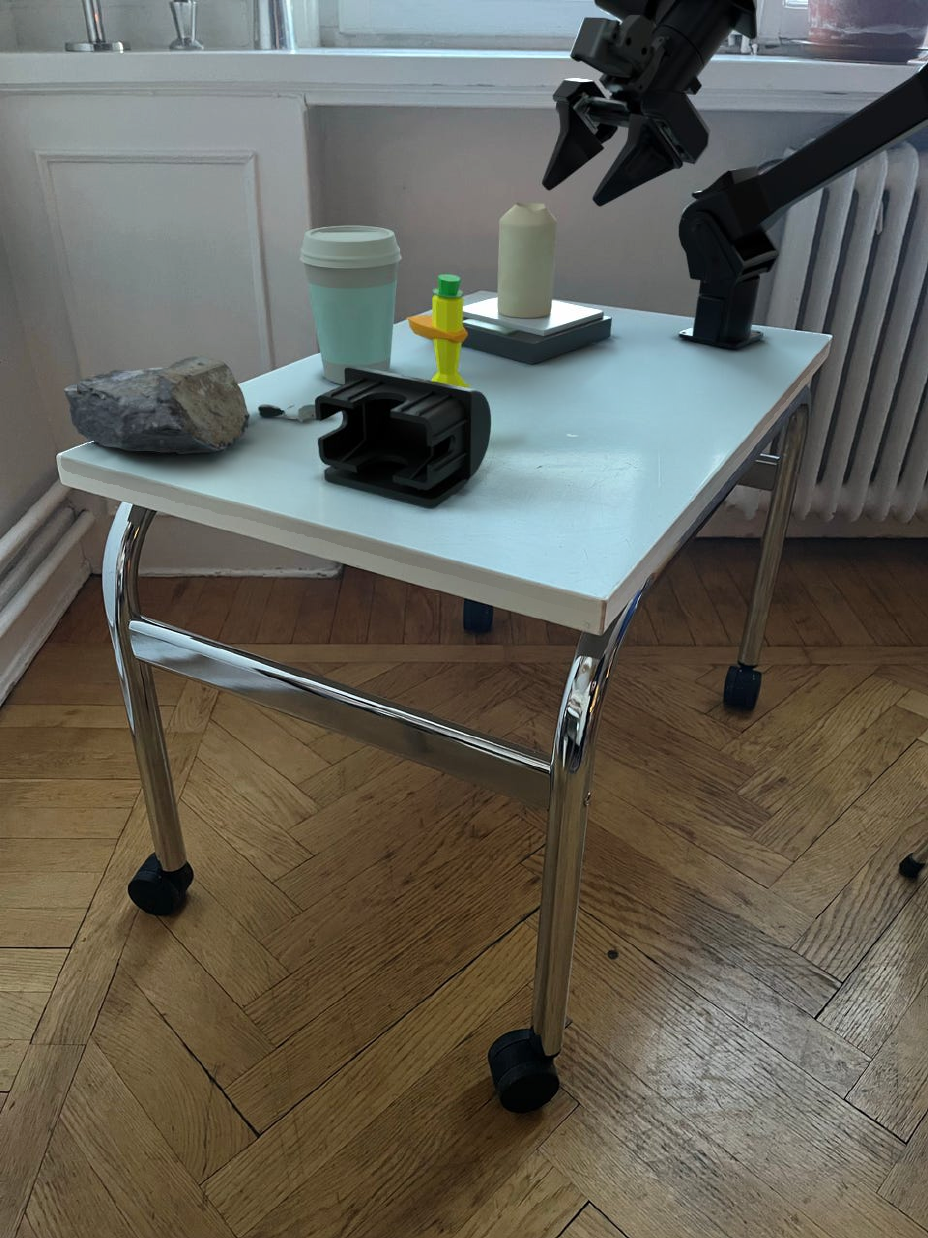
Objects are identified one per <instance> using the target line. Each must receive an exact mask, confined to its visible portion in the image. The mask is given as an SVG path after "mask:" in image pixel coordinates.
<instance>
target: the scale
mask: <svg viewBox="0 0 928 1238" xmlns="http://www.w3.org/2000/svg"><path fill="white" fill-rule="evenodd" d="M612 322H613V317H612V316H611V317H610V316H607V315H605V311H604V310H601V309H596V308H590V307H586V306H581V305H576V304H573V303H572V304H571V303H568V302H562V301H558V300H553V299H552V310H551V313H550V314H549V315H546V316H543V317H536V318H517V317H510V316H506V315H502V314H500V313H499V312H498V310H497V297H494V298H489V299H485V300H482V301H478V302H474V303H471V304H466V305H463V326H464V328H465V330H466V331H467V333H468V336H467V337H466V339H465V340H464V341H463V342H462V344H461V347H465V348H468V349H472V350H476V351H480V352H483V353H488V354H491V355H495V356H499V357H502V358H506V359H511V360H514V361H516V362H517V361H518V362H521V363H526V364H527V365H536V364H538V363H540V362H541V363H542V362H543V361H546V360H549V359H552V358H554V357H558V356H560V355H563V354H567V353H569V352H572V351H575V350H577V349H580V348H583V347H586V346H589V345H591V344H595V343H598V342H600V341H603V340H606V339H609V338H611V332H612V331H611V330H612Z"/></svg>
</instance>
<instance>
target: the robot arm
mask: <svg viewBox="0 0 928 1238" xmlns="http://www.w3.org/2000/svg"><path fill="white" fill-rule="evenodd" d="M593 2H594V5H595V6H596V8H597V9H599V10H600V11H602V12H604V13H606V14H607V15H610V16H611V17H612V18H615V19H610V18H607V17H594V16H593V17H591V16H590V17H589V16H585V17H583V18H582V22H581V24H580V26H579V29H578V32H577V35H576V38H575V39H574V43H573V46H572V48H571V51H570V54H569V58H571V60H573V61H575V62H576V63H577V62H578V63H579V62H582V63H584V64H585V65H587V66H589V67H591V68H592V69H594V70H595V71H598V72H600V73H602V74H601V76H600V78H599V79H598V81H599V82H600V84H601V85H602V86H603V88H604V89H605V90H608V92H609V93H610V95H608V96H609V97H606V96H605V94H604V92H603V91H602V90H601V89H600V87H599V86H598V84H597V83H596V82H595V80H590V79H584V78H583V79H582V78H577V77H576V78H565V79H563V80H562V81H561V83H560V84H559V85H558V87H557V88H556V90H554V92H553V93H552V100H553V101H554V102H555V106H554V109H555V111H556V113H557V114H558V118H559V119H558V120H559V131H558V136H557V138H556V142H555V145H554V147H553V150H552V152H551V155H550V158H549V161H548V164H547V167H546V169H545V171H544V174H543V178H542V179H541V186H543V188H545V190H546V191H548V192H549V191H552V190H553V189H555V188H556V187H557V186H559V185H561V184H562V183H563V182H564V181H566V180H567V179H569V177H571V176H572V175H573V174H574V173H576V172H578V170H579V169H581V168H582V167H583V166H584V165H586V164H587V163H588V162H590V161H591V160H592V159H594V158H595V157H596V156H598V155H599V154H600V153H601V152H602V151H603V150H604V149H605V147H604V145H603V144H604V143H606V142H608V141H609V140H611V139H612V138H613V137H614V135H615V134H616V133H617V131H618V130H619V127H620V128H627V129H628V130H627V139H626V142H625V144H624V145H623V147H622V148H621V150H620V151H619V153H618V155H617V156H616V158H615V159H614V161H613V162H612V164H611V166H610V167H609V169H608V170H607V172H606V174H605V175H604V176H603V177H602V180H601V181H600V183H599V184H598V187H597V188H596V190H595V191H594V194H593V195H592V198H591V199H592V202H593V203H594V204H595V205H596V206H597V207H600V208H602V207H603V206H605V205H607V204H609V203H610V202H612V201H614V200H616V199H618V198H619V197H622V196H623V195H625V194H627V193H629V192H630V191H633V190H634V189H636V188H638V187H641V186H643V185H644V184H647V183H648V182H650V181H652V180H654V179H656V178H659V177H660V176H662V175H665V174H667V173H669V172H671V171H673V170H680V169H681V168H683V166H684V163H687V164H691V165H696V163H697V162H698V161H699V159H700V158H701V157H702V156H703V154H704V153H705V152H706V151H707V149H708V148H709V144H710V135H711V129H710V127H709V126H708V125H707V123H706V122H705V120H704V119H703V117H702V116H701V114H700V112H699V111H698V109H697V108H696V107H695V105H694V104H693V101H692V100H691V98H690V97H689V96H688V95H691V96H696V95H697V94H698V92H699V91H700V90H701V88H702V87H703V84H702V83H701V81H700V79H699V78H698V77H699V76H700V74H701V73H702V71H703V70H704V69H705V68H706V66H707V65H708V63H709V62H710V61H711V60H712V58H713V57H714V56H715V55H716V53H717V52H718V50H719V49H720V48H721V46H722V45H723V44H724V43H725V41H726V40H727V39H728V37H729V36H730V35H731V34H732V32H733V31H734V32H736V33H738V34H740V35H741V36H744V37H745V38H747V39H749V40H755V39H756V38H757V36H758V20H757V9H758V0H593ZM926 126H928V60H926V62H924V63H923V64H922V66H921V67H920V68H919V69H918V70H917V71H916V72H915V73H914V74H913V75H911V76H910V77H909V78H907V79H906V80H904V81H902V83H900V84H898V85H896V86H895V87H893V88H892V89H891V90H889V91H887V92H886V93H884V94H882V95H881V96H880V97H878V98H876V99H875V100H874V101H872V102H870V103H869V104H867V105H866V106H864V107H863V108H861V109H860V110H858V111H856V112H855V113H853V114H852V115H850V116H849V117H848V118H845V119H844V120H843V121H841V122H839V123H838V124H837V125H835V126H832V128H830V129H829V130H827V131H826V132H824V133H822V134H821V135H820V136H818V137H816V138H815V139H813V140H811V141H810V142H808V143H807V144H805V145H804V146H802V147H801V148H799V149H798V150H796V151H795V152H793V153H792V154H790V155H789V156H787V157H785V158H784V159H782V160H781V161H779V162H778V163H776V164H775V165H773V166H772V167H770V168H768V169H767V170H765V171H764V172H762V173H759V172H758V166H757V165H755V164H754V165H749V166H744V167H738V168H734V169H729V170H727V171H726V172H724V173H723V174H721V175H720V176H719V177H718V178H717V179H716V180H715V181H713V183H712V184H710V185H709V186H708V187H707V188H705V189H702V190H699V191H694V192H692V193H691V197H692V198H694V199H695V200H693V201H691V202H690V203H689V204H688V205H686V206H685V208H683V211H682V212H681V213H680V220H679V224H678V239H679V242H680V246H681V247H682V250H683V251H684V253H685V256H686V262H687V268H688V275H689V278H690V279H691V280H694V281H699V288H698V294H697V299H696V307H695V313H694V321H693V326H692V327H690V328H687V329H684V330H682V331H679V333H678V338H679V339H684V340H689V341H693V342H698V343H701V344H702V343H703V344H706V345H711V346H717V347H721V348H726V349H730V350H737V349H739V348H742V347H744V346H746V345H748V344H751V343H753V342H755V341H758V340H760V339H763V337H764V334H765V333H764V332H763V331H760V330H755V329H752V326H753V322H754V316H755V311H756V304H757V299H758V292H759V288H760V282H761V275H762V274H765V273H766V274H768V273H770V272H771V271H772V269H773V268H774V265H775V264H776V262H777V260H778V258H779V256H780V250H779V249H778V247H777V245H776V244H775V243H774V241H773V239H772V238H771V236H770V234H769V233H768V231H769V230H770V229H772V228H773V227H774V225H776V224H777V222H778V221H780V219H781V218H782V217H783V216H784V215H785V214H786V213H787V211H788V210H790V209H791V208H792V207H794V205H796V204H798V203H800V202H802V201H803V200H804V199H807V198H808V197H810V196H812V195H813V194H815V193H816V192H818V191H820V190H821V189H823V188H825V187H827V186H828V185H830V184H832V183H833V182H835V181H836V180H838V179H840V178H841V177H844V176H845V175H846V174H848V173H849V172H851V171H853V170H855V169H856V168H858V167H860V166H861V165H863V164H865V163H867V162H868V161H870V160H871V159H873V158H875V157H877V156H878V155H879V154H881V153H883V152H885V151H886V150H889V149H890V148H891V147H893V146H895V145H897V144H898V143H900V142H901V141H903V140H905V139H906V138H908V137H910V136H911V135H913V134H915V133H917V132H919V131H920V130H921V129H923V128H925V127H926Z"/></svg>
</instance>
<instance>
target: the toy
mask: <svg viewBox="0 0 928 1238" xmlns="http://www.w3.org/2000/svg"><path fill="white" fill-rule="evenodd" d="M294 406H295V404H293V405H290V406H289V407H287V408H286V409H285V410H284V409H282V408H281V407H279V406H276V405H272V404H268V403H267V404H265V403H264V404H263V403H261V404H259V405H258V406H257V410H258V415H259V416H260V417H264V418H271V417H279V416H282V417H283V418H286V419H290V420H299V422H300V423H304V420H305V419H308V418H316V413H315V403H314V404H312V403H311V404H310V403H309V404H304V405H302V406H301V407H299V408H298V409H297V417H293V416H289V415H287V412H286V411H288V410H289V409H291V408H293V407H294Z"/></svg>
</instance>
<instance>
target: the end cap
mask: <svg viewBox="0 0 928 1238" xmlns="http://www.w3.org/2000/svg"><path fill="white" fill-rule="evenodd" d="M344 373H345V384H340V385H338V386H337V387H334V388H333V389H331V390H328V391H326V392H324V393H322V394H320V395H318V396H316V398H315V399H314V405H315V413H316V417H315V420H316V421H318V422H323V421H325V420H326V419H328V418H331V417H333V416H334V415H337V414H338V413H341V414H342V421H341V423H340V425H339V427H337V428H335V429H333V430H331V431H330V432H328V433H325V434H323V435H322V436H320V437H318V438H317V447H318V457H319V459H320V461H321V462H322V463H323V464H324V465H326V466H329V467H327V468H325V469H324V470H323V476H324V481H326V482H329V483H333V484H337V485H339V486H344V487H347V488H352V489H355V490H359V491H362V492H367V493H370V494H374V495H378V496H382V497H386V498H389V499H393V500H397V501H400V502H404V503H409V504H411V505H415V506H419V507H424V508H429V509H433V508H436V507H438V506H440V505H441V504H442V503H444V502H445V501H447V500H448V499H450V498H451V497H452V496H454V495H455V494H456V493H458V492H460V491H461V490H462V489H463V488H464V487H465V486H466V485H467V483H469V480H470V479H471V478H472V477H473V476H475V474H476V473H477V471H478V470H479V468H480V466H481V465H482V463H483V460H484V459H485V456H486V454H487V451H488V449H489V448H488V447H489V444H490V439H491V433H492V412H491V407H490V403H489V401H488V399H487V396H486V395H485V394H484V393H483V392H482V391H480V390H479V389H476V388H472V387H471V388H472V389H471V388H466V387H460V386H455V385H450V384H445V383H440V382H435V381H431V380H429V379H425V378H420V377H414V376H408V375H404V374H398V373H393V372H383V371H378V370H373V369H368V368H363V367H357V366H351V367H347V368H345V370H344Z"/></svg>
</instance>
